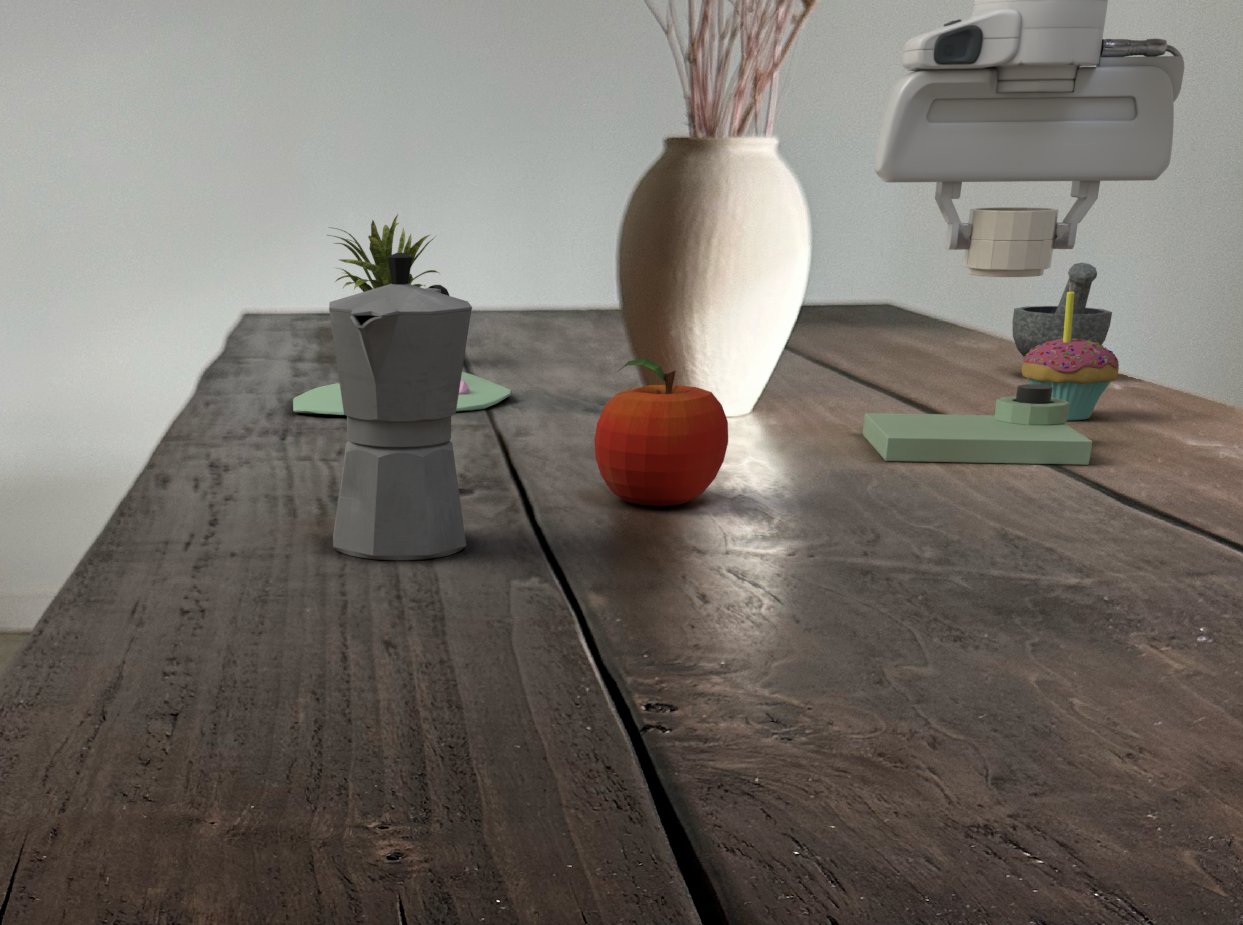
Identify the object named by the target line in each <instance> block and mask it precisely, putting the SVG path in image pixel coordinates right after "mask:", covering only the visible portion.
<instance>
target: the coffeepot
mask: <svg viewBox="0 0 1243 925" xmlns="http://www.w3.org/2000/svg"><path fill="white" fill-rule="evenodd" d="M412 258H413V257H412V256H410V255H407V254H405V253H403V252H402V253H397V252H395V253H392V255H390V256H387V259H388V265H389V271H390V277H391V283H392V284H389V285H386V286H382V287H379V288H375V289H372V290H369V291H365V292H363V291H362V292H358V293H355V294H352V295H347V296H345V297H342V298H340V299H335V300H332V301H329V304H328V310H329V311H328V312H329V318H330V325H331V332H332V340H333V346H334V355H335V361H336V368H337V376H338V381H339V382H338V383H340V390H341V397H342V404H343V411H344V415H343V416H346V439H347V441H346V442H345V449H344V456H343V461H342V462H343V463H342V471H341V478H340V485H339V492H338V499H337V505H336V513H335V519H334V525H333V526H334V528H333V534H332V547H333V548H334V549H335V550H336V551H337V552H339V553H341V554H345V555H348V556H352V557H355V558H360V559H361V558H362V559H367V560H368V559H369V560H379V561H380V560H381V561H419V560H429V559H436V558H442V557H446V556H450V555H453V554H456V553H459V552H461V551H462V550H463V549H464V548H466V547H467V540H466V534H465V526H464V525H465V524H464V519H463V512H462V511H463V510H462V504H461V496H460V490H459V481H458V475H457V467H456V460H455V453H454V452H455V451H454V446H453V442H452V441H451V439H452V416H454V415H456V413H457V412H456V408H457V402H458V395H459V388H460V382H461V375H462V372H463V369H464V368H463V367H464V362H465V356H466V348H467V342H468V336H469V330H470V329H469V328H470V323H471V322H470V321H471V315H472V310H473V306H472V304H470V302H469V301H467V300H465V299H461V298H458V297H455V296H452V295H450V293H449V290H448V288H446V287H445V286H443V285H441V284H432V285H430V286H428V287H426V288H425V287H422V286H421V287H417V286H414V284H412V283H411V284H408V281H409V275H410V274H411V269H412V266H411V264H412Z"/></svg>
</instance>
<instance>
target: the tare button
mask: <svg viewBox="0 0 1243 925" xmlns="http://www.w3.org/2000/svg"><path fill="white" fill-rule="evenodd" d="M1051 395H1052V387H1051V386H1046V385H1036V384H1030V383H1028V384H1019V385H1017V390H1016V395H1015V396H1016V401H1015V402H1020V403H1030V404H1049V403H1050V401H1051Z"/></svg>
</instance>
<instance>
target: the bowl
mask: <svg viewBox="0 0 1243 925" xmlns="http://www.w3.org/2000/svg"><path fill="white" fill-rule="evenodd" d="M1058 216H1059V209H1058V208H1051V207H1049V208H1048V207H1026V206H1025V207H1023V206H1021V207H1017V206H1016V207H1014V206H1013V207H1012V206H1010V207H1009V206H1008V207H1005V206H1004V207H1003V206H1002V207H998V206H997V207H995V206H994V207H973V208H970V209H969V214H968V222H967V223H969V224H973V226H972V234H971V235H970V236H969V238H970V240H971V242H970V247H969V249H964V256H963V264H962V266H963V268H967V269H968V274H969V275H971V276H977V277H978V276H979V277H989V278H990V277H993V278H1035V277H1041V276H1043V275H1044V271H1045V270H1048V269H1050V268H1051V267H1052V259H1053V252H1054V249H1053V246H1054V238H1055V231H1056V224H1057V222H1058Z"/></svg>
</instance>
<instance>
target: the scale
mask: <svg viewBox="0 0 1243 925" xmlns="http://www.w3.org/2000/svg"><path fill="white" fill-rule="evenodd" d="M1015 401H1016V395H1012V396H1002V397H1000V398H997V399H996V401H995V410H994V414H949V413H948V414H947V413H888V412H887V413H885V412H884V413H883V412H882V413H881V412H879V413H878V412H865V413H864V417H863V418H864V419H863V428H862V435H863V437H864V438H865V439H866V440H867V441H868V443H869V444H870V445H871V446H872V447H873V448H874V449H875V451H876V452H877V453H878V454H879V455H880V456H881V457H882V458H883V460H884V461H885V462H912V463H913V462H914V463H915V462H916V463H918V462H919V463H920V462H921V463H963V464H964V463H967V464H970V463H972V464H974V463H975V464H977V463H978V464H1014V465H1015V464H1018V465H1020V464H1021V465H1022V464H1024V465H1073V466H1074V465H1075V466H1078V465H1079V466H1088V465H1090V461H1091V454H1092V448H1093V440H1091V439H1090V438H1088V437H1087V436H1085V435H1083V434H1082V433H1080V432H1079V431H1077V430H1075V429H1074V428H1072V427H1071V426H1069V425H1068V424H1066V423H1067V421H1068V420H1067V417H1068V410H1069V404H1070V403H1069V402H1067V401H1065V400H1061V399H1056V398H1051V401H1050V403H1049V404H1030V403H1020V402H1015Z"/></svg>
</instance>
